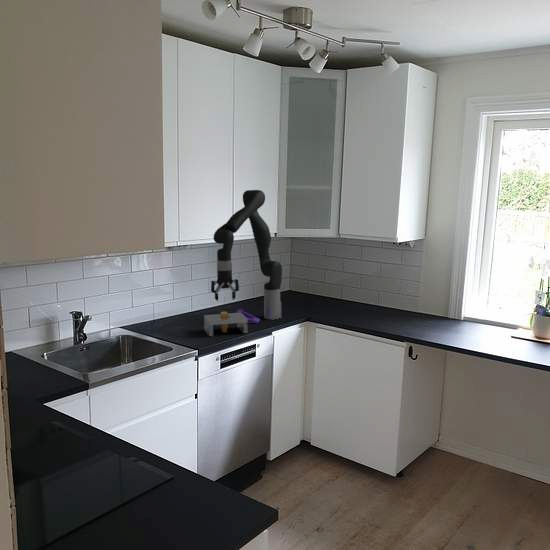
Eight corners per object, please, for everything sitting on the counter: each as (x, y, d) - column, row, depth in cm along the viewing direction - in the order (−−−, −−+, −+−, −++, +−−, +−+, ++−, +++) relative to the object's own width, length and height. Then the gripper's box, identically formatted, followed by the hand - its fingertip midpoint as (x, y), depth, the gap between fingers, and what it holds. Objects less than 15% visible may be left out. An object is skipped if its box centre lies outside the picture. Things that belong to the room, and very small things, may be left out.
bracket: (236, 323, 309) (236, 311, 307) (239, 320, 315) (239, 308, 314) (257, 324, 306) (257, 312, 305) (259, 321, 313) (259, 309, 312)
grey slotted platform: (241, 326, 300) (240, 312, 298) (247, 333, 286) (247, 318, 285) (204, 329, 294) (204, 315, 292) (209, 336, 281) (209, 321, 279)
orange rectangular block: (226, 329, 293) (226, 311, 291) (227, 332, 289) (227, 313, 287) (220, 330, 292) (220, 311, 291) (222, 332, 288) (222, 314, 286)
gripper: (236, 267, 290) (236, 297, 293) (209, 268, 286) (210, 299, 289) (239, 269, 283) (240, 300, 286) (212, 270, 279) (213, 302, 282)
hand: (225, 299), depth 287 cm, fingers open, 8 cm apart
